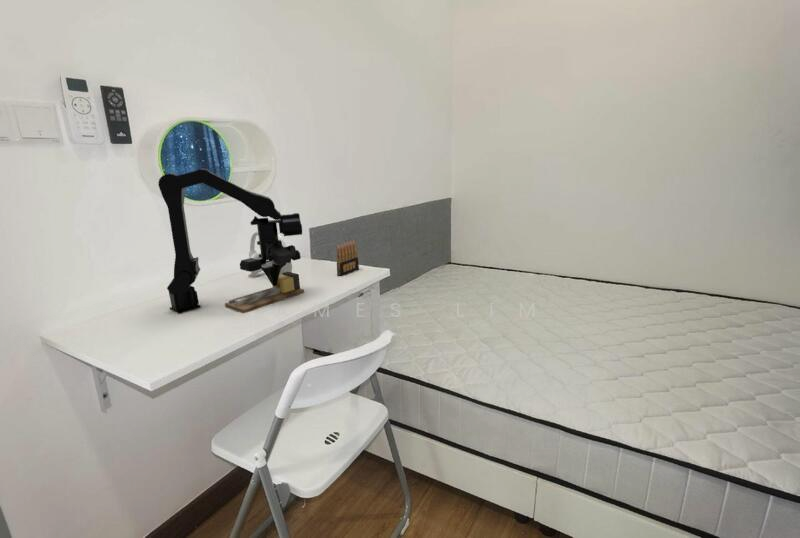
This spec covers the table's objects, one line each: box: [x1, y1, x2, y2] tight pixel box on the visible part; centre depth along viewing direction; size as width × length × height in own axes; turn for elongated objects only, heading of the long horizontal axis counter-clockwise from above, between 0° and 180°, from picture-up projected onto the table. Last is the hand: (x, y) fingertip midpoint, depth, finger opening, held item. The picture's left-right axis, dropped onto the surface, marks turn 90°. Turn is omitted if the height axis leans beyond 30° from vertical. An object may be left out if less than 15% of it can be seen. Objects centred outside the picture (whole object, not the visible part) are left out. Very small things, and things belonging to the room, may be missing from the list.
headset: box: [247, 230, 293, 278], centre depth 152 cm, size 20×7×18 cm, turn 56°
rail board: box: [224, 272, 305, 314], centre depth 130 cm, size 22×10×6 cm, turn 141°
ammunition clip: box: [336, 239, 360, 277], centre depth 156 cm, size 11×2×12 cm, turn 146°
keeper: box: [272, 275, 295, 293], centre depth 135 cm, size 4×6×4 cm, turn 51°
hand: (274, 285), depth 133 cm, fingers closed
